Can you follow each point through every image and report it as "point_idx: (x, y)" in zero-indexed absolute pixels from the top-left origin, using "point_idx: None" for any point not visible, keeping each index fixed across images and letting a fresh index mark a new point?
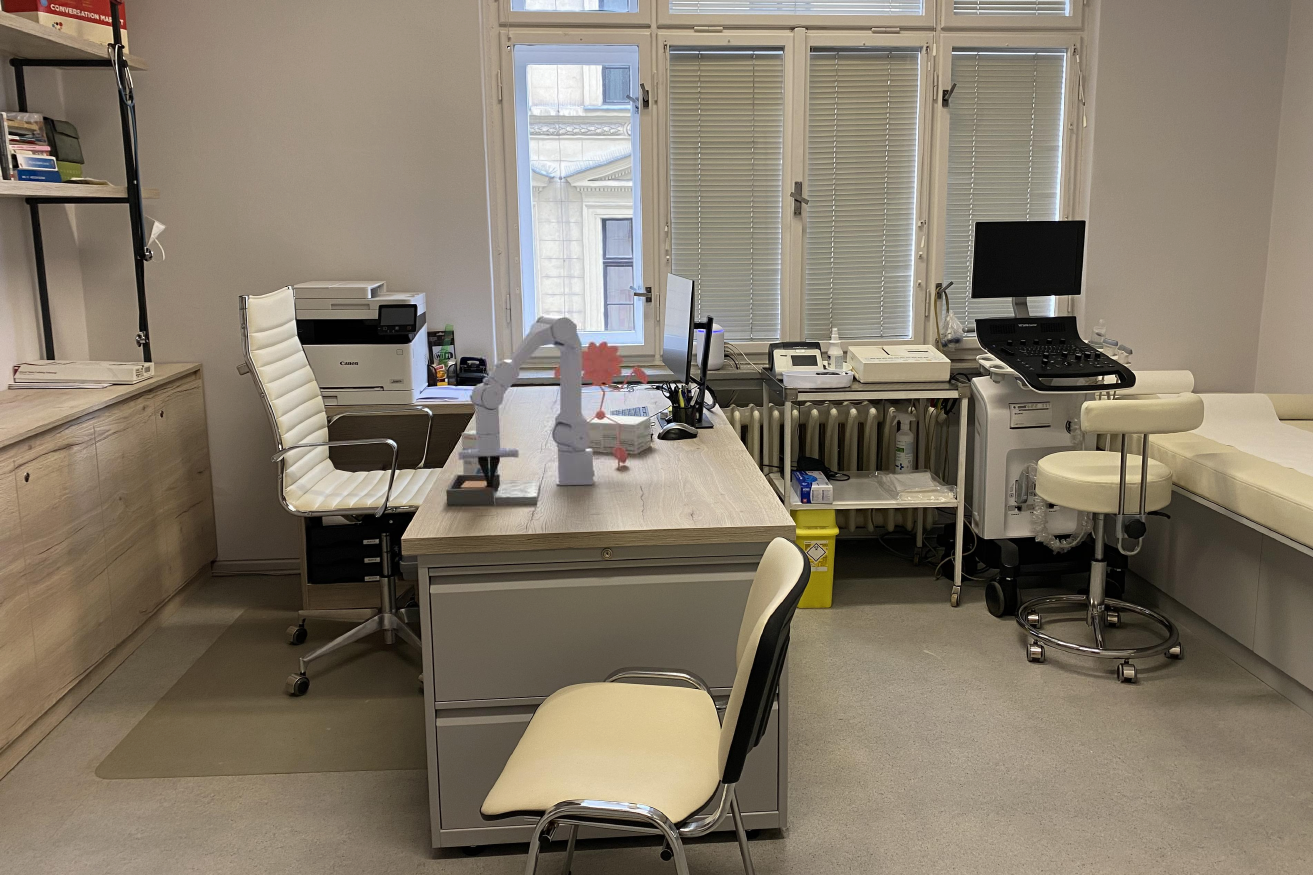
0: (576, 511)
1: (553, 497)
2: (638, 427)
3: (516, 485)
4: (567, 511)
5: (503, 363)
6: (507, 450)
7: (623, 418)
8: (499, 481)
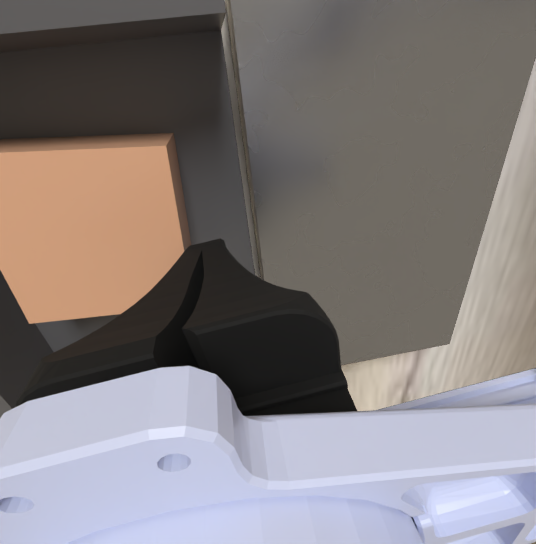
0: (531, 365)
1: (518, 212)
2: None
3: (368, 147)
4: (506, 369)
5: None
6: (518, 539)
7: None
8: (222, 23)
